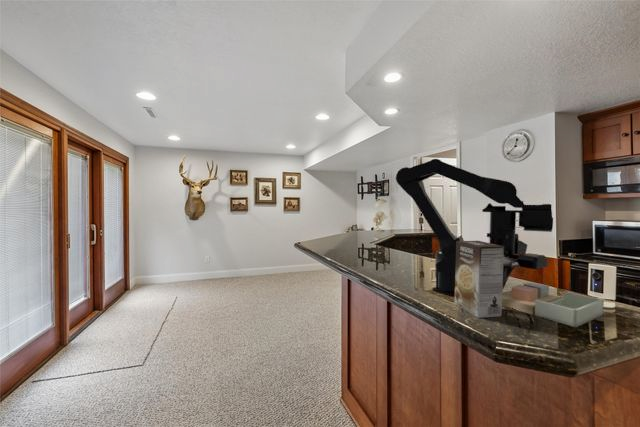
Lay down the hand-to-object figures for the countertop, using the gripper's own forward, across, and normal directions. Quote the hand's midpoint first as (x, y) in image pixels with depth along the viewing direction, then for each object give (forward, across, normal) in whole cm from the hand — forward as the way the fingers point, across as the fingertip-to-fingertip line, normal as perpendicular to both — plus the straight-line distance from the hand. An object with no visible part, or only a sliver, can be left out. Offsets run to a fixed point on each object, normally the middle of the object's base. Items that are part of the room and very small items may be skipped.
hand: (500, 288), depth 79 cm
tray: (+3, -14, -2) cm, 14 cm away
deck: (+3, -5, -2) cm, 6 cm away
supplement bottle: (+3, +21, -6) cm, 22 cm away
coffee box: (+3, -2, +13) cm, 13 cm away
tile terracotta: (+1, -6, 0) cm, 6 cm away
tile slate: (+1, -6, -6) cm, 8 cm away
